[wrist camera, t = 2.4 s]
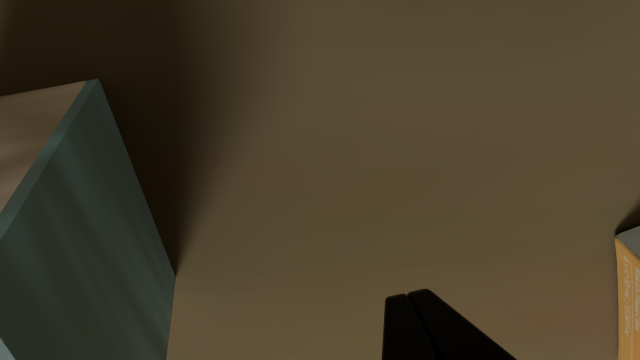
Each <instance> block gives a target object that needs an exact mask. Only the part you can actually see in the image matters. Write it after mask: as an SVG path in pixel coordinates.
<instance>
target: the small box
mask: <svg viewBox="0 0 640 360" xmlns="http://www.w3.org/2000/svg"><path fill="white" fill-rule="evenodd" d="M615 247H616V255H617V273H618V310H619V317H618V329H619V346H618V359H619V360H640V226H637V227H635V228H632V229H630V230H627V231H625V232H622V233H620V234H618V235H616V236H615Z"/></svg>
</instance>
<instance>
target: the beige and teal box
mask: <svg viewBox="0 0 640 360" xmlns="http://www.w3.org/2000/svg"><path fill="white" fill-rule="evenodd" d="M175 280H176V277H175V274H174V272H173V269H172V266H171V264H170V261H169V259H168V256H167V253H166V251H165V248H164V246H163V243H162V241H161V238H160V235H159V233H158V230H157V228H156V225H155V222H154V220H153V217H152V215H151V212H150V209H149V207H148V204H147V202H146V199H145V197H144V194H143V191H142V189H141V186H140V184H139V181H138V178H137V176H136V173H135V171H134V168H133V166H132V163H131V160H130V158H129V155H128V153H127V150H126V147H125V145H124V142H123V140H122V137H121V135H120V132H119V129H118V127H117V124H116V122H115V119H114V116H113V114H112V111H111V109H110V106H109V103H108V101H107V98H106V96H105V93H104V91H103V88H102V85H101V83H100V80H99V78H98V79H93V80H87V81H82V82H76V83H71V84H66V85H60V86H55V87H50V88H44V89H39V90H33V91H28V92H23V93H17V94H12V95H7V96H1V97H0V360H166V356H167V348H168V339H169V331H170V322H171V314H172V306H173V297H174V289H175Z"/></svg>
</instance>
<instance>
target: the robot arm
mask: <svg viewBox="0 0 640 360" xmlns="http://www.w3.org/2000/svg"><path fill="white" fill-rule="evenodd" d="M382 360H517V359H516V358H514V357H513V356H512V355H511V354H509V353H508V352H507V351H506V350H504V349H503V348H502V347H501V346H499V345H498V344H497V343H496V342H494V341H493V340H492V339H491V338H489V337H488V336H487V335H486V334H484V333H483V332H482V331H481V330H479V329H478V328H477V327H476V326H474V325H473V324H472V323H471V322H469V321H468V320H467V319H466V318H464V317H463V316H462V315H461V314H459V313H458V312H457V311H456V310H454V309H453V308H452V307H451V306H449V305H448V304H447V303H446V302H444V301H443V300H442V299H441V298H439V297H438V296H437V295H436V294H434V293H433V292H432V291H430V290H429V289H421V290H416V291H412V292H409V293H408V294H407V295H406V294H398V295H393V296H389V297H387V298H386V299H385V312H384V330H383V347H382Z"/></svg>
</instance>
